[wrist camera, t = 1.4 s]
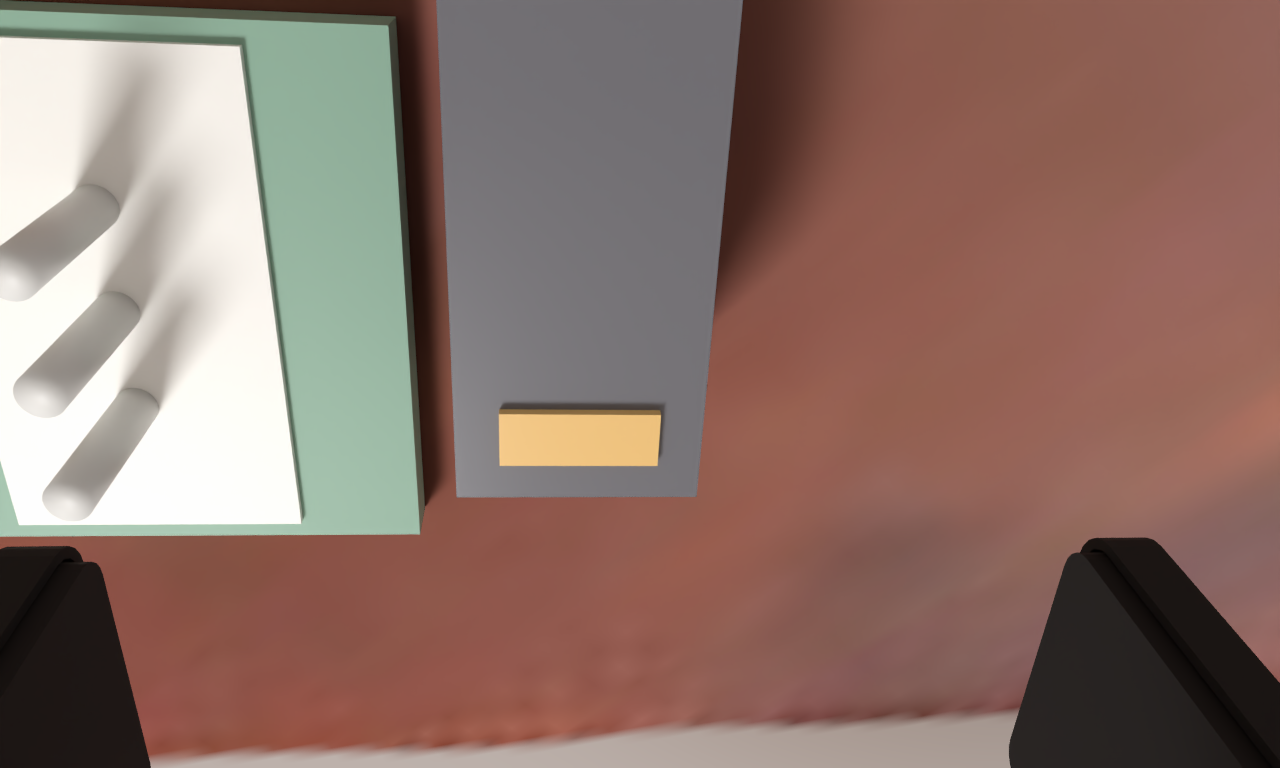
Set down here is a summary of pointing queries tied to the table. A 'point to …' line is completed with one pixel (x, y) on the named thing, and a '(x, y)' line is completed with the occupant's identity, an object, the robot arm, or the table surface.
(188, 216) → the header board
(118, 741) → the robot arm
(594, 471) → the block
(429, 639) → the table surface
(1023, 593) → the table surface
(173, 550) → the table surface
